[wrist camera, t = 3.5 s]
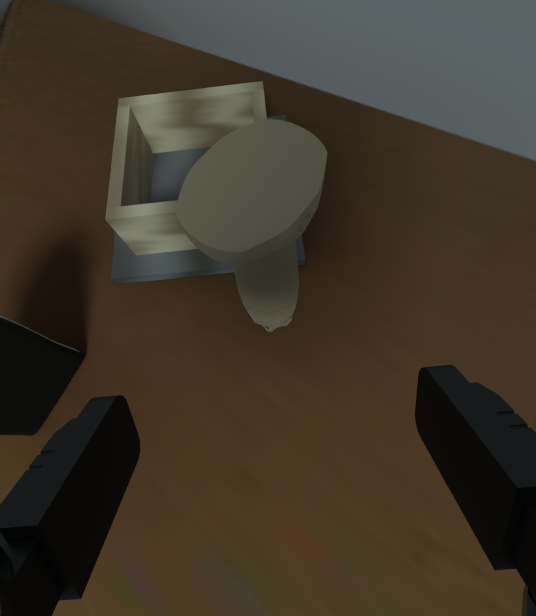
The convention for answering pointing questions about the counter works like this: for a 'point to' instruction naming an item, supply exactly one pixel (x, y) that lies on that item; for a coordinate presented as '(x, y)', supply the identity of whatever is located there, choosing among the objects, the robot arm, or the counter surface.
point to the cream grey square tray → (169, 176)
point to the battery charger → (31, 377)
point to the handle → (256, 210)
